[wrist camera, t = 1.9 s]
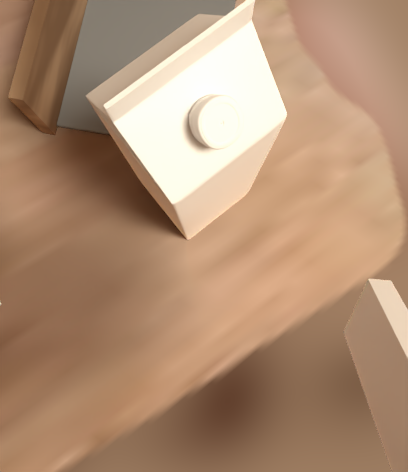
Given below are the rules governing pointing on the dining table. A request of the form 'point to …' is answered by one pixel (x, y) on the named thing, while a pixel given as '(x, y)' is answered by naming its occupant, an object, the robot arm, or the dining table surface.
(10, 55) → the dining table surface
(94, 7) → the mat
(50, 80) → the corner walls
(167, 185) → the milk carton
